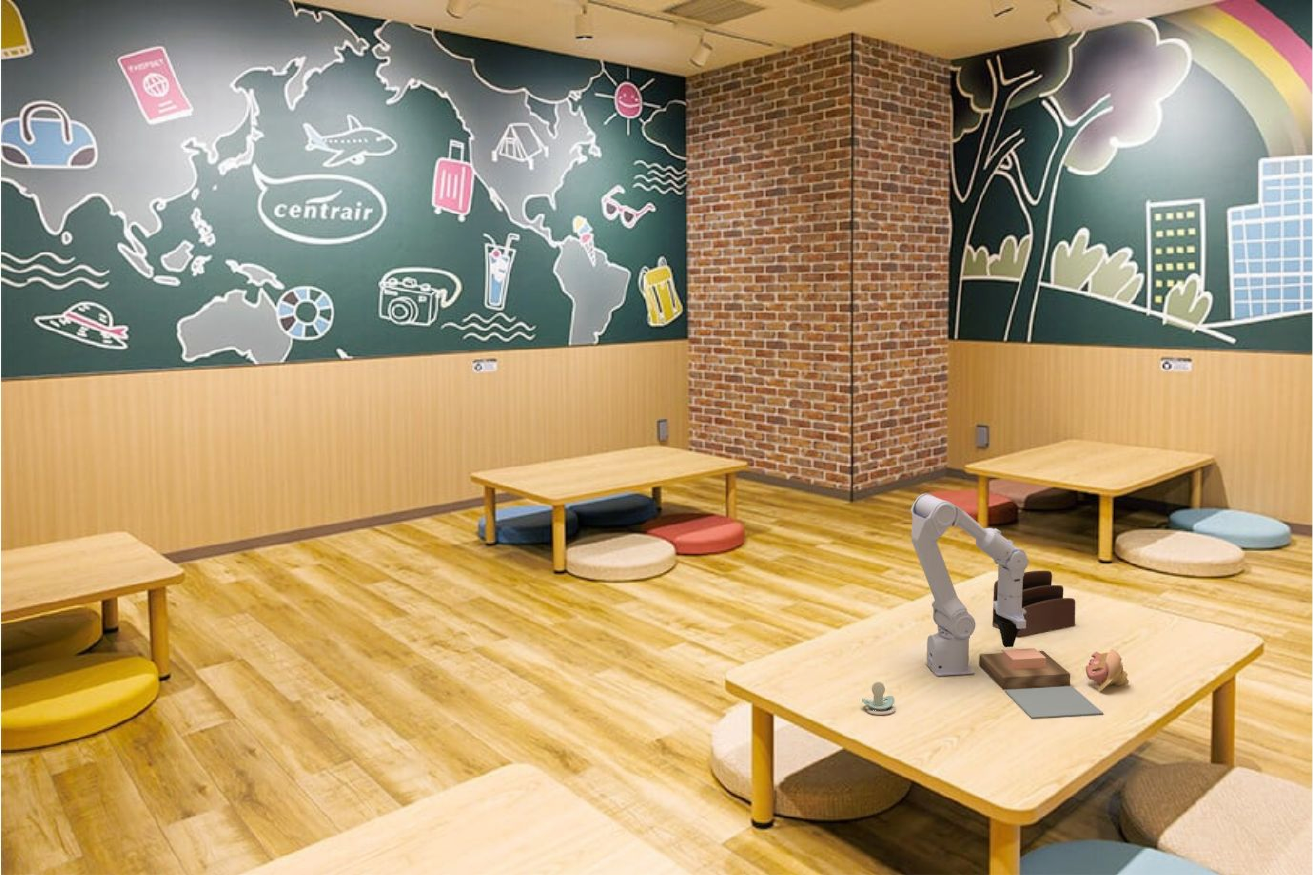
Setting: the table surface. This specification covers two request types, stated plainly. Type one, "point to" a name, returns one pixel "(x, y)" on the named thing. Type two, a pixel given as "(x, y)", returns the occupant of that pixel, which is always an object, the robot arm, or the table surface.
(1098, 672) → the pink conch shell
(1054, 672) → the step
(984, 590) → the table surface
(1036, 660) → the tile
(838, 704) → the table surface
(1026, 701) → the mat
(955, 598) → the robot arm
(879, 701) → the pacifier
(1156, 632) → the table surface
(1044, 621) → the letter holder
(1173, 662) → the table surface
